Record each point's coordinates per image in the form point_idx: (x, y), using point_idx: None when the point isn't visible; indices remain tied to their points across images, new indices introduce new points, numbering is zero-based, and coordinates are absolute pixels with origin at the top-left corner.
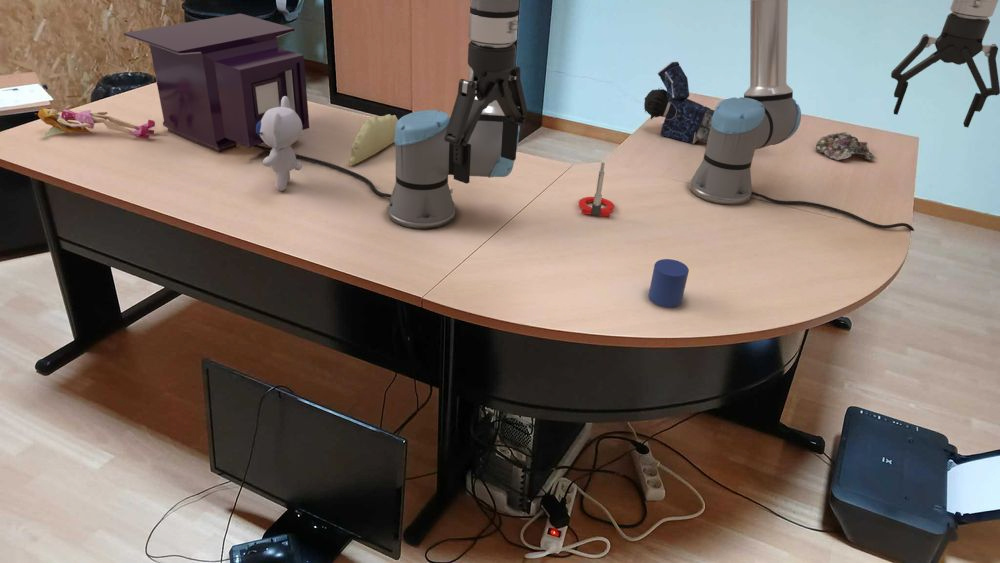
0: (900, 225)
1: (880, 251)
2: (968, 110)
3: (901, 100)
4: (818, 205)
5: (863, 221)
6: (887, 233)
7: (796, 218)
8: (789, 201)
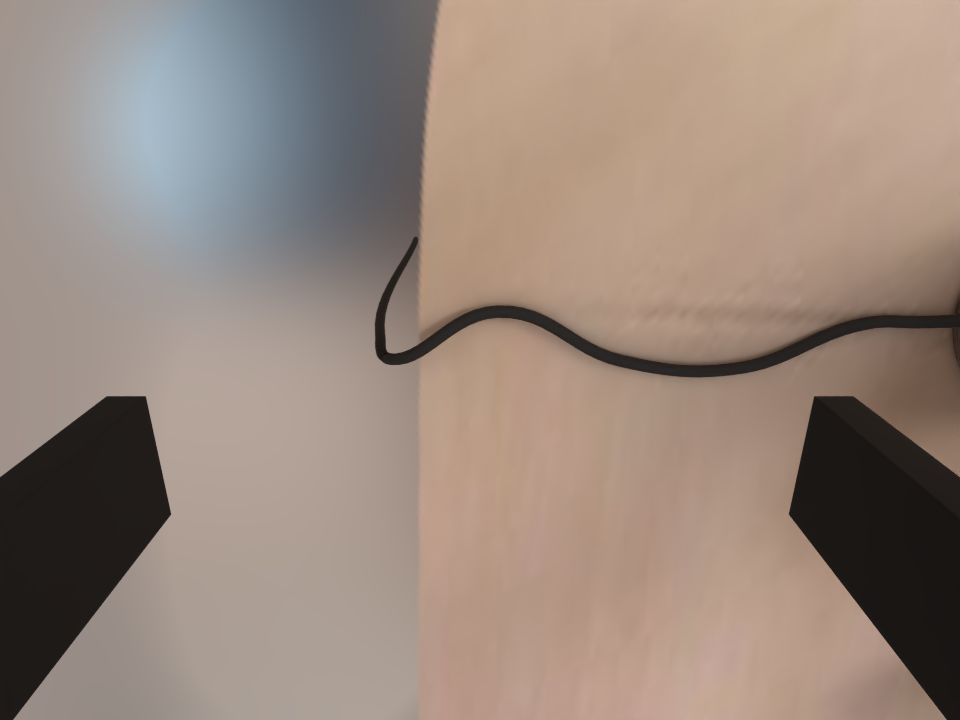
0: (431, 336)
1: (490, 105)
2: (94, 608)
3: (931, 486)
4: (708, 366)
5: (552, 320)
6: (468, 283)
7: (789, 229)
8: (815, 342)
